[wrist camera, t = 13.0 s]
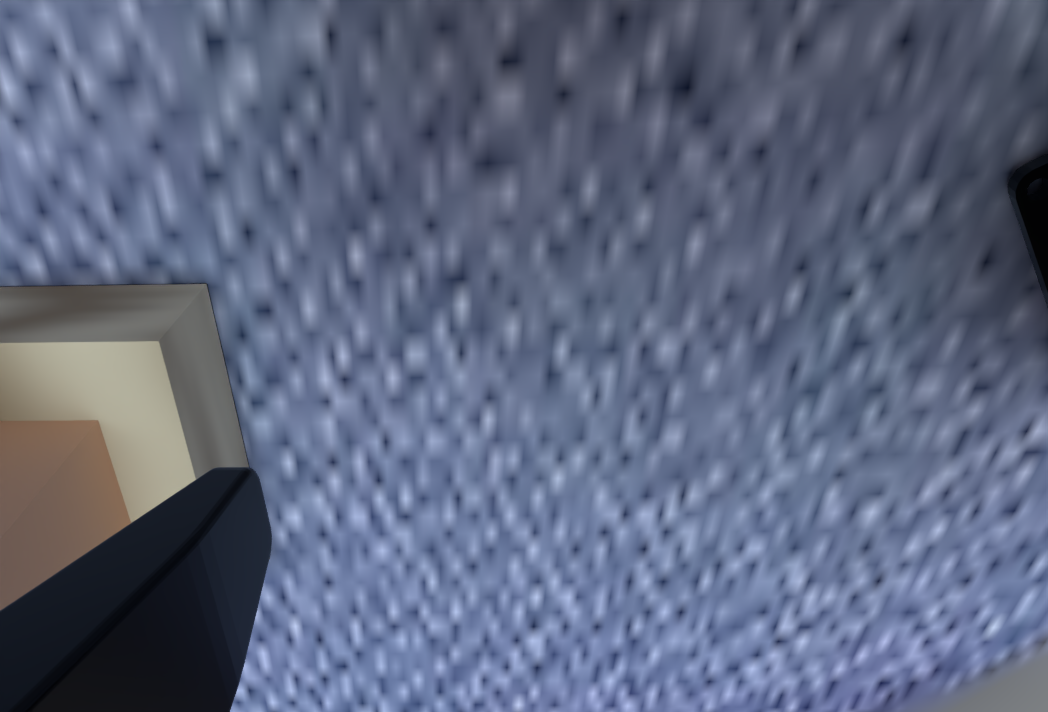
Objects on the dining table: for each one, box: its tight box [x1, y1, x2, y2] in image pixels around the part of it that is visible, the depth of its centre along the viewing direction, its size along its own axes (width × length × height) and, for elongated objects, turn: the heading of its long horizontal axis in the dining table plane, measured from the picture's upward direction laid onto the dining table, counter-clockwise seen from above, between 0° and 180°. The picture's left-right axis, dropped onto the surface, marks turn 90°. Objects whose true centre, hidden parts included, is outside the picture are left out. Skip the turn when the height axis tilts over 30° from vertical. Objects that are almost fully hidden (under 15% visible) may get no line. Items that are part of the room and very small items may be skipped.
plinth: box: [0, 284, 270, 559], centre depth 24 cm, size 9×9×3 cm
